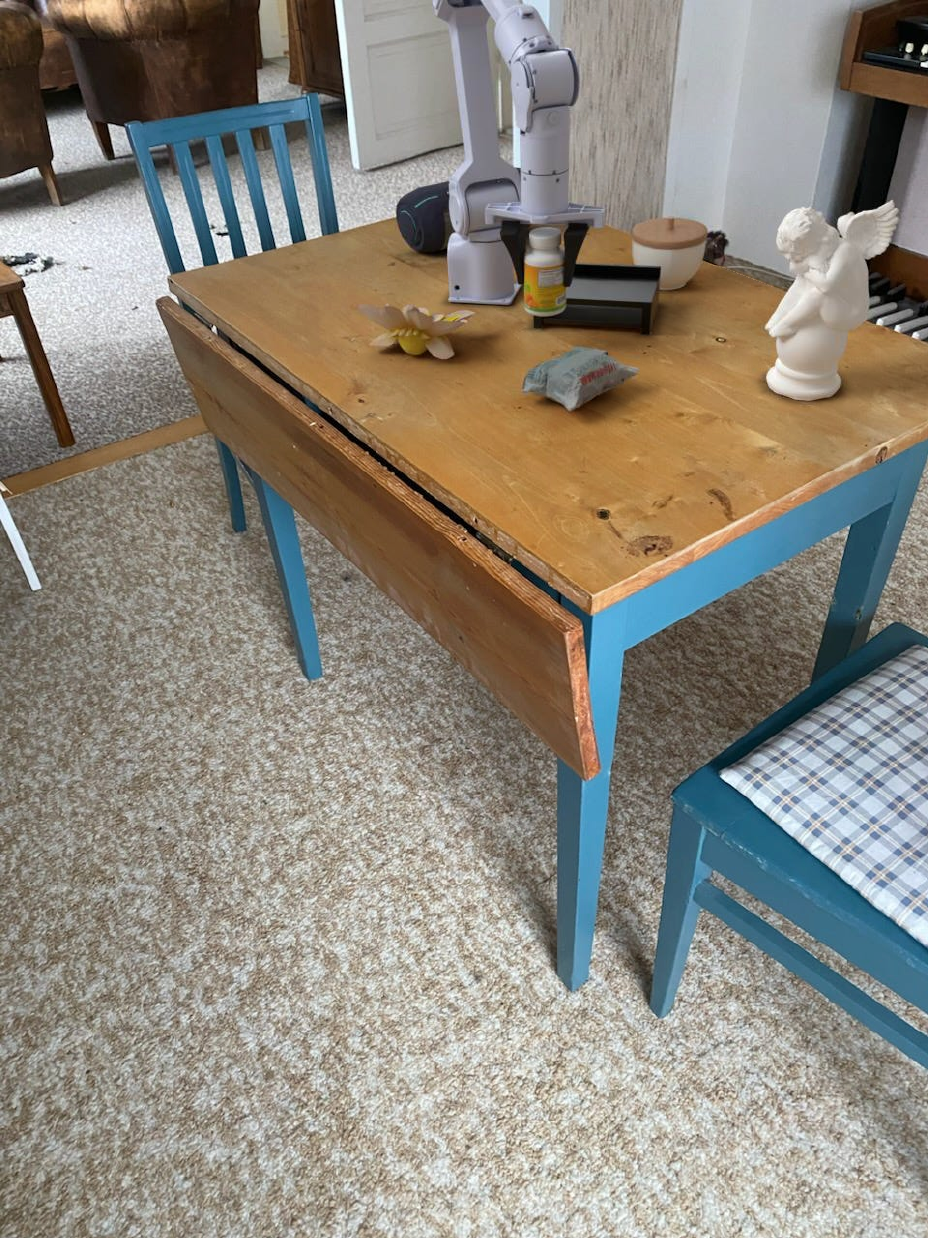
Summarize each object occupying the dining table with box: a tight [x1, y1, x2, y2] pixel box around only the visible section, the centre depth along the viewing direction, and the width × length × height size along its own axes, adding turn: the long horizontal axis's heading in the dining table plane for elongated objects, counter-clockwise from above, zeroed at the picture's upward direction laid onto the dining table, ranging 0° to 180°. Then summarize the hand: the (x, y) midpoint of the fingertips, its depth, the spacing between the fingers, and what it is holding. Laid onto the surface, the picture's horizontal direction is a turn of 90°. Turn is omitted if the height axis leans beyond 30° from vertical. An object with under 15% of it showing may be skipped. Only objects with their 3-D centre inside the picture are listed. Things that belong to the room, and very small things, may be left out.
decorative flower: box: [355, 303, 475, 360], centre depth 126 cm, size 15×11×10 cm
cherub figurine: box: [764, 199, 900, 402], centre depth 109 cm, size 12×12×22 cm
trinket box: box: [631, 216, 709, 291], centre depth 139 cm, size 11×11×9 cm
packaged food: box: [521, 346, 639, 412], centre depth 115 cm, size 9×12×5 cm
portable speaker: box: [395, 166, 532, 253], centre depth 158 cm, size 25×10×10 cm, turn 119°
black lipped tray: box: [532, 262, 661, 336], centre depth 132 cm, size 16×10×6 cm, turn 74°
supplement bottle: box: [523, 226, 566, 316], centre depth 120 cm, size 5×5×10 cm
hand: (544, 282), depth 121 cm, fingers closed on supplement bottle, 5 cm apart
